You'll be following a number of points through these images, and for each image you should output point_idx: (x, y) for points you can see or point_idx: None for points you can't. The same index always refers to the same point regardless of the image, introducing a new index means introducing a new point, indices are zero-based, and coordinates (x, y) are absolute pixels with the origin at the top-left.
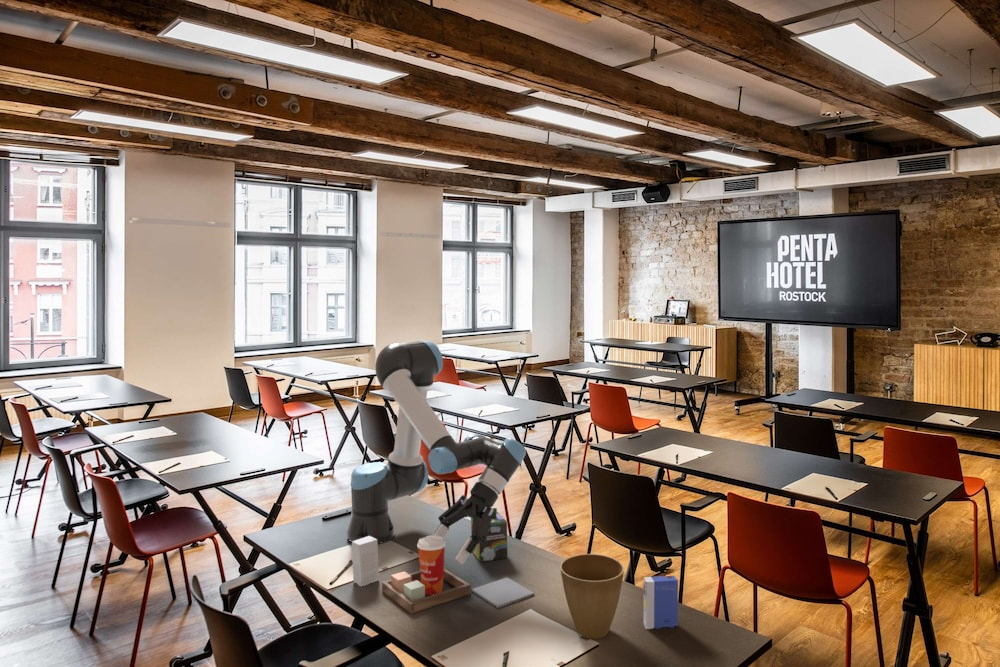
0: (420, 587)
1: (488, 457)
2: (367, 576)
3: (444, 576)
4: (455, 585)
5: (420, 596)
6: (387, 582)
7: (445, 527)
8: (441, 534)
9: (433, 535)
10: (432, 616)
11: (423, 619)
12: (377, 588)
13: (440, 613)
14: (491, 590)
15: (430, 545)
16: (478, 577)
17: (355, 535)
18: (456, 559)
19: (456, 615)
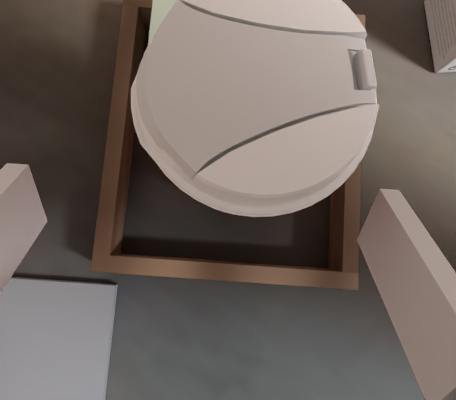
0: (150, 34)
1: None
2: (448, 3)
3: (281, 266)
4: (193, 259)
5: None
6: None
7: (450, 381)
8: (409, 310)
9: (431, 238)
10: (65, 57)
11: (71, 24)
12: (379, 37)
13: (62, 90)
14: (44, 343)
15: (173, 10)
16: (201, 392)
17: None
18: (7, 163)
19: (8, 122)
